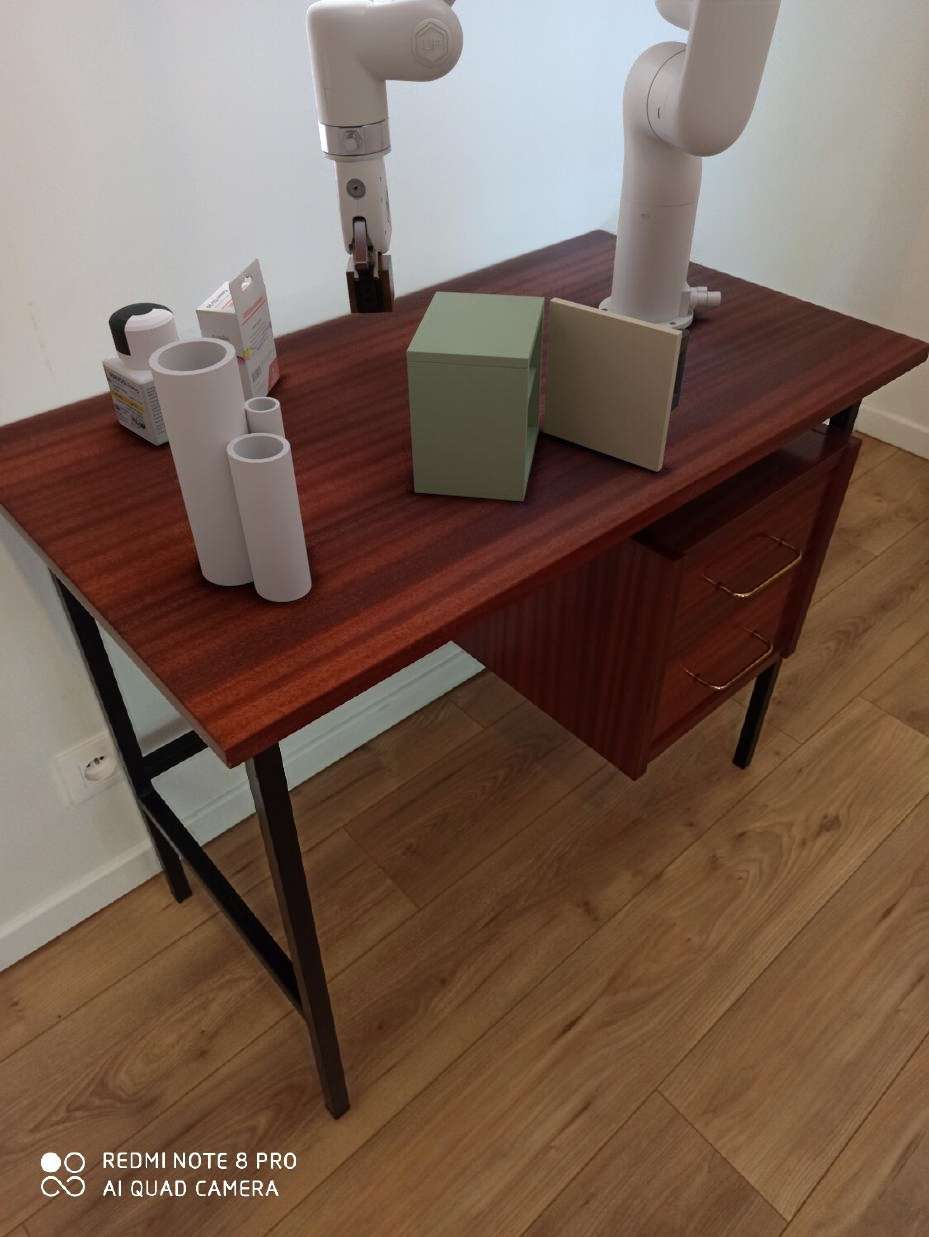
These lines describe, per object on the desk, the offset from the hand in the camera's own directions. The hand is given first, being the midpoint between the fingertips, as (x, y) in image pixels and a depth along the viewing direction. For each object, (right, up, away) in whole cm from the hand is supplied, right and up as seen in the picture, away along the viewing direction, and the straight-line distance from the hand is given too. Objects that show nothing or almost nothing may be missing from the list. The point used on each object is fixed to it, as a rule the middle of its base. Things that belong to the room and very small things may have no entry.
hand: (372, 300), depth 110 cm
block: (0, 0, 0) cm, 0 cm away
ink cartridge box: (-14, -12, -2) cm, 19 cm away
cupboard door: (+27, -19, -11) cm, 35 cm away
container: (-22, -17, -7) cm, 29 cm away
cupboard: (+13, -22, -14) cm, 29 cm away
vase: (-7, -34, -28) cm, 44 cm away
